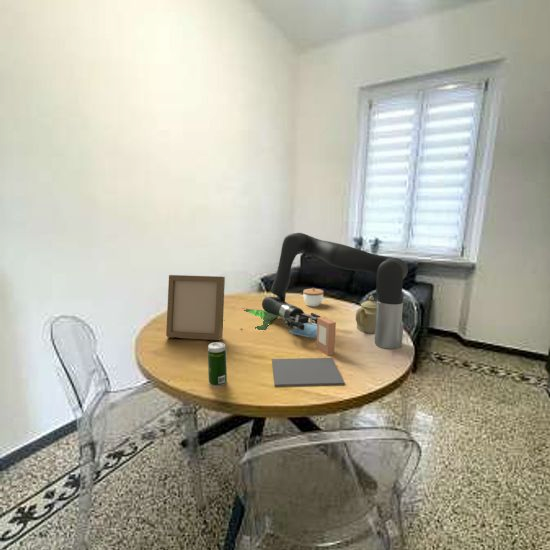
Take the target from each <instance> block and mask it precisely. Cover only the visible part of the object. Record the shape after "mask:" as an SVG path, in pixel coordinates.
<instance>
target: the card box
mask: <svg viewBox="0 0 550 550" xmlns="http://www.w3.org/2000/svg"><path fill="white" fill-rule="evenodd" d="M336 323H337V322H336V321H334V320H333V319H331V318H328V317H326V316H321V317H319V318H317V324H316V325H317V338H316V349H317V350H319V352H322V353H323V354H324V355H327V356H331V355H335V354H336V353H335V351H336V349H335V348H336V347H335V346H336V325H337V324H336Z"/></svg>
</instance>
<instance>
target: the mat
mask: <svg viewBox="0 0 550 550" xmlns="http://www.w3.org/2000/svg"><path fill="white" fill-rule="evenodd" d="M271 364H272V366H271V367H272V373H273V374H272V375H273V384H274V385H273V386H274V387H298V386H299V387H301V386H302V387H303V386H306V387H307V386H334V385H335V386H336V385H337V386H339V385H342V386H343V385H345V384H346V382H345V381H344V379H343V376H342V374H341V373H340V371H339V368H338V366H337V365H336V363H335V360H334V358H333V357H315V358H314V357H312V358H311V357H308V358H307V357H306V358H272V359H271Z"/></svg>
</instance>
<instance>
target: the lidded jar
mask: <svg viewBox="0 0 550 550" xmlns="http://www.w3.org/2000/svg"><path fill="white" fill-rule="evenodd" d="M302 292H303V301H304V303H305V304H306V305H307V306H308V307H312V308H314V307H315V308H316V307H319V306H320V305H321V304H322V302H323V299H324V292H325V291H324V290H323V289H320V288H315V287H312V288H305V289H303V291H302Z"/></svg>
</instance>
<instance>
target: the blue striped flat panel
mask: <svg viewBox="0 0 550 550" xmlns="http://www.w3.org/2000/svg"><path fill="white" fill-rule="evenodd" d="M288 333H289V334H291V333H292V335H296V334H297V335H296V336H302V337H305V338H311V339H317V324H314V323H312V324H306V323H305V324H304V330H301V329H299V328H295V327H293V328H291V329H290V330H289V331H288Z"/></svg>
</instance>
